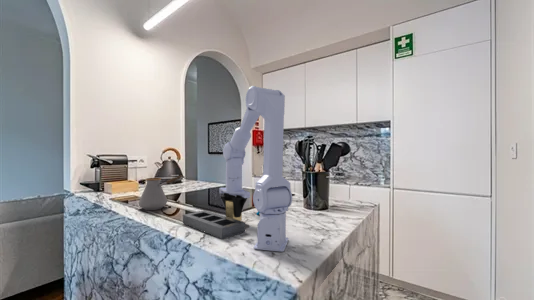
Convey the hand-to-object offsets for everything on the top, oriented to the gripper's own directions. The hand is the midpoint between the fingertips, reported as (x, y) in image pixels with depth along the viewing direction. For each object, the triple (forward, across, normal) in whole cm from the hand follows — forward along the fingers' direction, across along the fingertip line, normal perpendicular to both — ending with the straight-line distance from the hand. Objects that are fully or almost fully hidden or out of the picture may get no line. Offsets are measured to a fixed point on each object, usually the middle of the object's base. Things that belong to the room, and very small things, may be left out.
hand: (233, 215), depth 90 cm
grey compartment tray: (+2, 0, +9) cm, 9 cm away
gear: (+2, -2, -14) cm, 15 cm away
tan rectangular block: (+2, 0, 0) cm, 2 cm away
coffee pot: (+2, +37, +9) cm, 38 cm away
